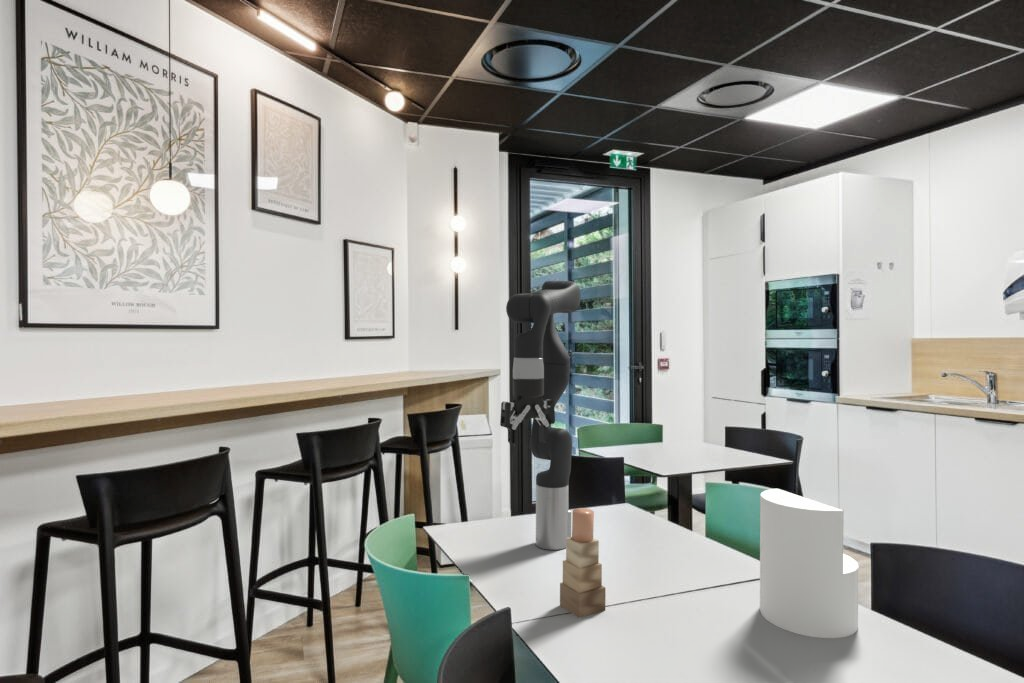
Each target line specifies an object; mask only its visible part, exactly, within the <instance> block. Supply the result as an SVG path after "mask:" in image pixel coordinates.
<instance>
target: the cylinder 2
mask: <svg viewBox="0 0 1024 683" xmlns="http://www.w3.org/2000/svg"><path fill="white" fill-rule="evenodd" d="M759 495H760V497H759V498H760V502H759V504H760V508H759V510H760V511H759V512H760V516H759V517H760V520H759V523H760V525H759V531H760V532H759V534H760V536H759V537H760V539H759V611H760V615H761V616H762V617H763V618H764V619H765V620H766V621H768V622H769V623H771V624H773V625H774V626H776V627H778V628H780V629H782V630H785V631H788V632H791V633H795V634H798V635H802V636H807V637H811V638H818V639H819V638H822V639H839V638H846V637H849V636H852V635H855V633H856V632H857V631H858V630H859V563H858V561H856V560H855V559H854V558H852V557H851V556H850V555H847V554H845V553H844V525H845V524H844V522H845V521H844V513H845V511H844V509H841V508H837V507H835V506H832V505H828V504H826V503H822V502H821V501H820V502H819V501H817V500H814V499H811V498H808V497H804V496H802V495H798V494H795V493H792V492H791V491H790V492H789V491H787V490H784V489H781V488H769V489H766V490H765V489H764V490H763V491H762V492H760V494H759Z"/></svg>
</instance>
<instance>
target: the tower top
mask: <svg viewBox="0 0 1024 683" xmlns="http://www.w3.org/2000/svg"><path fill="white" fill-rule="evenodd" d="M599 542H600V541H599V540H598V539H596V538H594V537H593V541H591V542H587V543H581V542H576V541H574V540H573V539H572V536H571V537H568V538H566V548H565V560H566V561H568V562H570V563H572V564H573V565H575V566H577V567H579V568H582V567H586V566H591V565H595V564H598V563H599V556H600V555H599V552H600V551H599Z"/></svg>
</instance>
